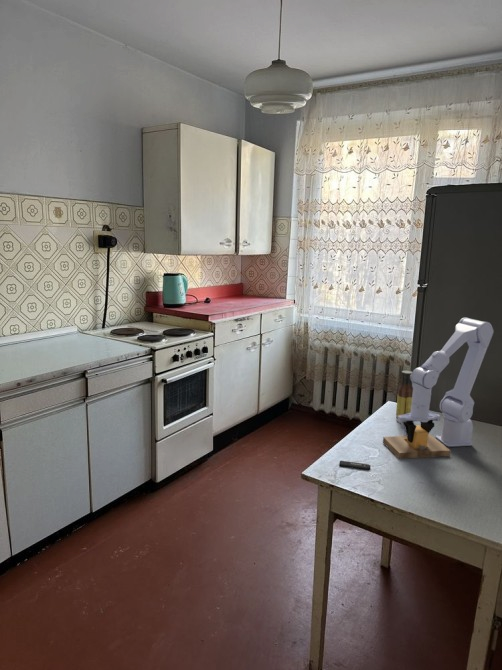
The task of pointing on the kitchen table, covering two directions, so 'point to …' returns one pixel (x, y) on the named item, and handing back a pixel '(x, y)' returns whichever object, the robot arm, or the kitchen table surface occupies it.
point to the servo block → (419, 438)
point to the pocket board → (407, 451)
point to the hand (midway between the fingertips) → (416, 441)
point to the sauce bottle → (404, 394)
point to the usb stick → (354, 465)
